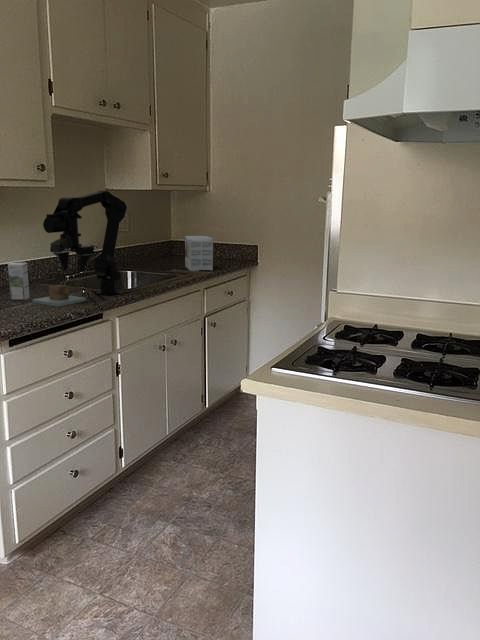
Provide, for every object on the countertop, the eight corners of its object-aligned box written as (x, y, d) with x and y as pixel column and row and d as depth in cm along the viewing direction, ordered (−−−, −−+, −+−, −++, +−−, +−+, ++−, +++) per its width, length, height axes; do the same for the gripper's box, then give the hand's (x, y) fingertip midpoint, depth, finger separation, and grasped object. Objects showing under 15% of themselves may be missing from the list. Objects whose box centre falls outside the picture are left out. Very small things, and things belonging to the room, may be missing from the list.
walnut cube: (59, 297, 219) (59, 284, 218) (68, 298, 216) (67, 285, 215) (49, 299, 214) (48, 286, 213) (58, 300, 212) (57, 287, 211)
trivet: (61, 297, 225) (61, 294, 225) (85, 300, 218) (85, 297, 218) (32, 302, 213) (32, 299, 213) (57, 306, 206) (57, 303, 206)
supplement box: (184, 267, 322) (184, 235, 318) (206, 266, 326) (206, 235, 322) (189, 271, 306) (189, 238, 302) (213, 270, 310) (213, 238, 306)
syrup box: (30, 297, 223) (27, 261, 220) (24, 300, 217) (22, 263, 214) (15, 297, 223) (12, 261, 220) (10, 300, 217) (7, 263, 214)
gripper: (37, 231, 210) (40, 272, 214) (70, 233, 201) (73, 276, 204) (60, 229, 220) (63, 268, 223) (93, 231, 210) (96, 272, 214)
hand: (73, 271), depth 216 cm, fingers open, 9 cm apart
